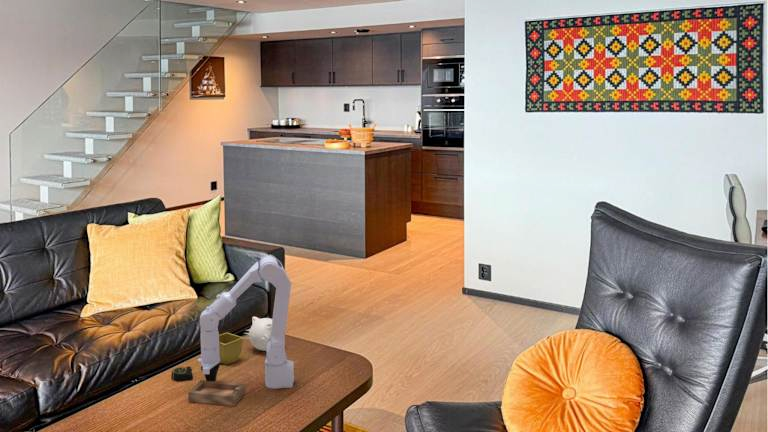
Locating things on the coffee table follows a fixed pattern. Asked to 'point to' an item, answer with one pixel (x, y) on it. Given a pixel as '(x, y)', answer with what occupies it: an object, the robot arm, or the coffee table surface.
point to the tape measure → (182, 374)
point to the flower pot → (229, 348)
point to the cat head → (259, 332)
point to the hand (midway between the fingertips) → (211, 385)
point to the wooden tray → (216, 393)
